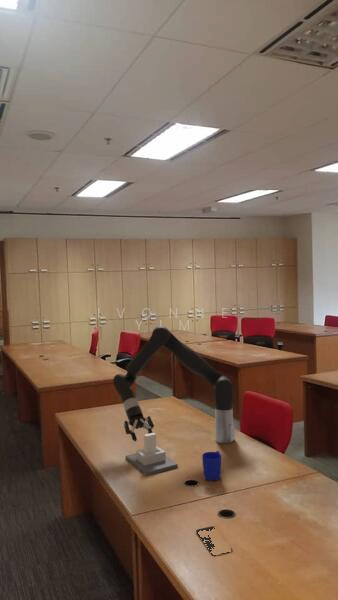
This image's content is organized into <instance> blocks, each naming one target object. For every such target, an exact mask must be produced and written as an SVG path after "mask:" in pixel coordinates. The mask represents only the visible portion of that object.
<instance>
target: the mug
mask: <svg viewBox="0 0 338 600" xmlns="http://www.w3.org/2000/svg"><path fill="white" fill-rule="evenodd" d="M201 458H202V466H203V467H202V469H203V476H204V479H205V480H207V481H210V482H214V481H218V480H220V479H221V472H222V454H221V453H220V451H219V450H216V451H206V452H204V453H202V455H201Z"/></svg>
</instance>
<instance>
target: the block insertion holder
mask: <svg viewBox="0 0 338 600" xmlns="http://www.w3.org/2000/svg"><path fill="white" fill-rule="evenodd" d="M156 452H157V453H153V454H149V455H145V452H144V448H143V449H140V450H139V449H138V450H136V451H135V453H131V454H126V455H125V460H126V461H128V462H129V463H130V464H132V465H133V466H134V467H135V468H136V469H137V470H139V471H140V472H141V473H142V474H144V475H145V476H151V475H154V474H157V473H161V472H165V471H170V470H173V469H176V468H178V467H179V466H178V465H179V464H178V463H177V462H175V461H174V460H172V459H171V458H170V457H168V456H167V455H166V451H165V450H163V449H162V448H160V447H159V446H157V445H156Z"/></svg>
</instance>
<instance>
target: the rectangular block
mask: <svg viewBox="0 0 338 600" xmlns="http://www.w3.org/2000/svg"><path fill="white" fill-rule="evenodd" d="M143 444H144V445H143V446H144V448H143V449H144V452H145V455H149V454H153V453H157V452H156V446H157V434H156V433H155V432H153V433H150V434H148V433H145V434H144V435H143Z"/></svg>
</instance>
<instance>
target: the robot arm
mask: <svg viewBox="0 0 338 600" xmlns="http://www.w3.org/2000/svg"><path fill="white" fill-rule="evenodd" d="M162 347H165V348H166V349H167V350H168V351H170V353H172V355H174V357H175V358H176V359H177V360H178V361H179V363H181V364H182V365H183V366H184V367H186V369H187V370H189V371H191V372H192V373H193V374H195V375H198V376H199V377H201V378H203V379H204V380H206V381H207V382H208V383H209V384H210V386H212V388H214V399H215V400H214V421H215V423H214V426H215V430H214V431H215V433H214V434H215V441H216V443H219V444H233V442H234V441H235V438H236V437H235V421H234V414H233V413H234V410H233V409H234V407H233V406H234V386H233V383H232V381H231V380H230V378H228V377H227V376H226V375H224V374H222V373H220V372H219V371H217V369H215V368H213V367H212V366H211V365H210V364H209V363H208V361H207V360H205V358H203V357H202V356H201V355H200V354H199V353H197V352H196V351H195V350H193V348H191V347H190V346H188V345H187V344H185V343H184V342H182V341H181V340H179V339H178V338H177V337H176V336H175V335H174V334H173V333H172V331H170V330H169V329H168V328H167V327H166V326H164V325H157V326H155V328H153V330H152V332H151V335H150V337H149V339H148V341H147V343H145V345H144V346H143V347H142V348H141V349H140V351H138V352H137V354H136V355H134V357H133V358H132V359H131V361H129V363H128V364H127V365H126V366H125V370H126V374H122V373H118V374H115V376H114V377H113V380H112V382H113V383H112V385H113V387H114V389H115V390H116V391H117V393H118V395H119V396H120V399H121V402H122V404H123V405H122V406H123V408H124V412H125V414H126V416H127V417H126V418H127V419H128V421H127V420H124V423H123V428H124V431H125V434H126V435H130V437H131V440H132V441H134V442H137V440H138V439H137V435H136V433H135V430H138V429H142V428H143V429H144V430H147V434H150V433H154V432H153V431H152V430H153V429H154V427H155V424H154V422H153V420H152V418H151V416H149V415H148V416H147V417H144V414H143V412H142V408H141V406H140V404H139V401H138V400H137V396H136V394H135V392H134V390H132V389H131V387H132V386H133V384H135V383H134V382H135V380H136V378H137V376H138V374H139V373H140V372H141V371H142V370H143V368H144V367H145V366H146V365H147V363H148V362H149V360H150V359H151V358H152V357H153V356H154V354H155V353H156V352H157V351H158V350H159V349H160V348H162ZM129 425H130V426H131V429H130V427H129Z"/></svg>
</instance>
